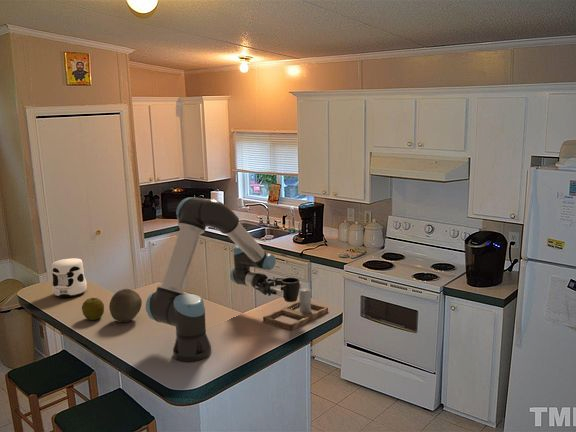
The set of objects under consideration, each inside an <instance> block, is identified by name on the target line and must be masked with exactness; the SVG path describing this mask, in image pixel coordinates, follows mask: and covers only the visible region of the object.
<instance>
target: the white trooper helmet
mask: <svg viewBox="0 0 576 432" xmlns="http://www.w3.org/2000/svg"><path fill="white" fill-rule="evenodd" d="M84 271H85V270H84V262H83V260H82V259H81V258H76V257H75V258H74V257H72V258H64V259H63V258H62V259H59V260H55V261H54V262H52V263H51V274H52V285H51V288H52V289H51V290H52V293H53V295H54V296H56V297H58V298H69V297H70V298H71V297H75V296H79V295H81V294H84V292H85V291H87V288H88V284H87V283H88V282H87V279H86V277H85V273H84Z"/></svg>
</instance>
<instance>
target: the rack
mask: <svg viewBox="0 0 576 432" xmlns="http://www.w3.org/2000/svg"><path fill="white" fill-rule="evenodd" d="M297 305H299V300H297V301H295V302H292V303H291V304H289V305H287V306H285V307H283V308H280V309H278V310H275V311H273V312H272V313H269V314H267V315H265V316H263V317H262V322H263V323H268V324H270V323H271V325H273V324H274V326H276V325H277V327H279V326H280V328H282V327H283V329H286V330H289V331H294V330H295V329H297V328H299V327H301V326H303V325H305V324H307V323H309V322H311V321H313V320H315V319H316V318H318V317H321V316H323V315H324V314H326V313H328V312H329V307H327V306H322V305H319V304H315V303H312V302H311V307H312V308H311V309H313V308H314V310H316V309H317V311H315V312H314V313H312V314H305V313H302V312H300V311H298V310H295V309H294V308H293V307H295V306H297ZM291 308H293V309H291ZM295 308H296V307H295ZM281 313H284V314H287V315H286V316H288V315H290V316H289V317H291V316H293V317H292V318H294V317H296V318H295V319H298V318H299V319H298V320H296V321H295V322H294V323H292V324H289V323H286V322H284V321H281V320H276V319H274V318H276V317H278V316H280V315H282V314H281ZM279 314H280V315H279ZM284 314H283V315H284ZM277 315H278V316H277ZM275 316H276V317H275ZM273 317H274V318H273ZM271 318H272V319H271Z"/></svg>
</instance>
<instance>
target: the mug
mask: <svg viewBox="0 0 576 432" xmlns="http://www.w3.org/2000/svg"><path fill="white" fill-rule="evenodd" d="M283 278H284V279H282V280H281V285H280V290H283V299H284V301H285V302H287V303H295V302H297V301H298V298H299V287H300V284H299V282H300V278H297V277H293V276H292V277H291V276H290V277H283Z"/></svg>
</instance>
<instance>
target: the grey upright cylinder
mask: <svg viewBox="0 0 576 432" xmlns="http://www.w3.org/2000/svg"><path fill="white" fill-rule="evenodd" d="M298 298H299V299H298V301H299V306H298V307H299V308H298V309H299V312H302V313H305V314H307V313H310V314H311V313H312V308H311V303H312V290H311V288H307V287H305V288H304V287H301V289H299V294H298Z"/></svg>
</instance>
